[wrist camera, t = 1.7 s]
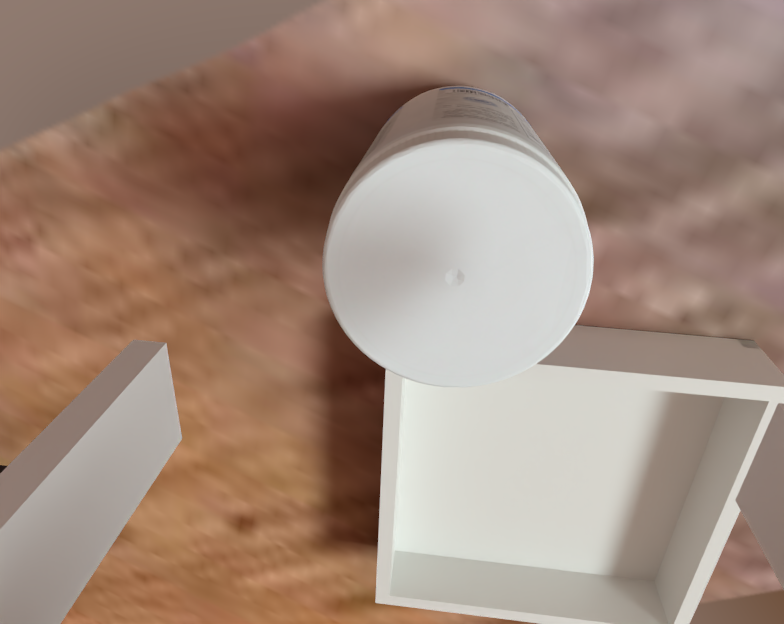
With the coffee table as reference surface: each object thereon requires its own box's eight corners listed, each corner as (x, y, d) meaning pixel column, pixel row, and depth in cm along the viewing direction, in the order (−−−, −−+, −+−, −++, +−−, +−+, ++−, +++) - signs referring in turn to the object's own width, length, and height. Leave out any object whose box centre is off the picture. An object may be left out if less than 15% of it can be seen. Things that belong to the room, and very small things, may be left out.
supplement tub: (419, 276, 36) (395, 429, 23) (339, 137, 32) (257, 225, 19) (570, 205, 33) (640, 335, 20) (499, 44, 29) (528, 74, 16)
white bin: (383, 547, 47) (375, 602, 43) (395, 309, 37) (386, 350, 33) (660, 580, 46) (681, 641, 41) (753, 340, 35) (795, 388, 31)
